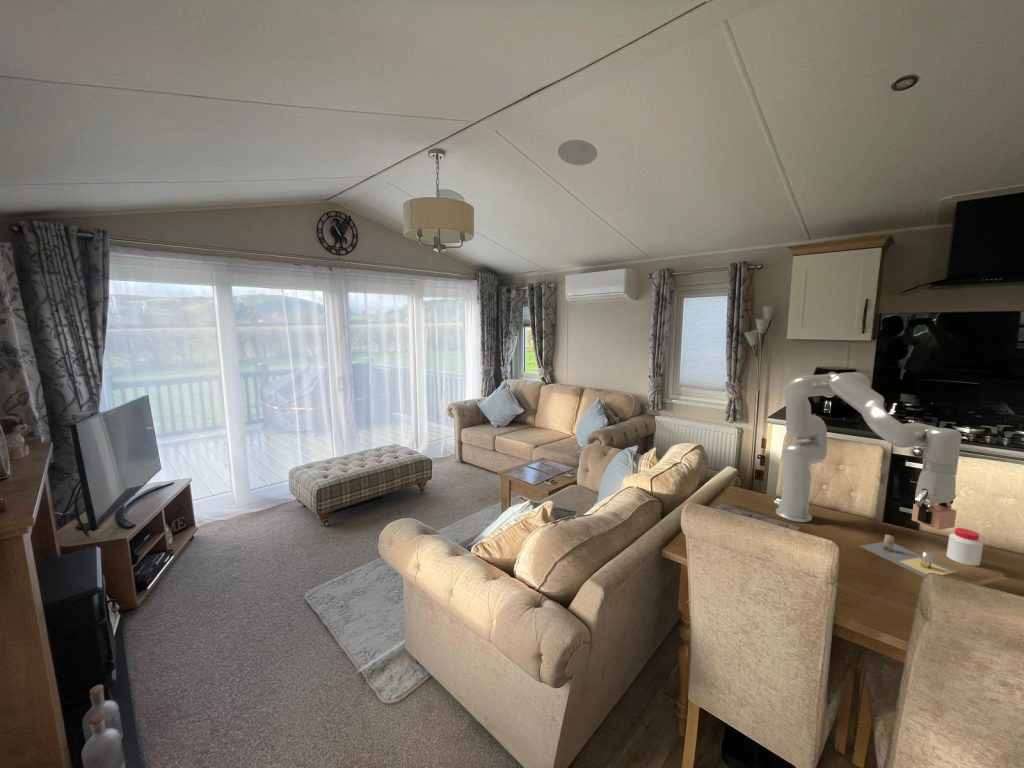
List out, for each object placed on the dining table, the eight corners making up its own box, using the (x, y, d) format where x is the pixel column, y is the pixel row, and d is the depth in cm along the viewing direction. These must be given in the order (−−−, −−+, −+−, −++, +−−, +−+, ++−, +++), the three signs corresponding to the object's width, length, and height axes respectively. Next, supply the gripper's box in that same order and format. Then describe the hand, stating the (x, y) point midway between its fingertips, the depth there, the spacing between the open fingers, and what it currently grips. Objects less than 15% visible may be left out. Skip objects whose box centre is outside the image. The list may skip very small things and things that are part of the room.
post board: (858, 549, 147) (860, 532, 147) (888, 544, 151) (890, 528, 150) (926, 581, 128) (928, 563, 127) (958, 575, 131) (960, 557, 131)
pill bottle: (974, 571, 134) (979, 539, 132) (941, 559, 140) (946, 529, 139) (983, 565, 137) (988, 534, 136) (950, 554, 144) (955, 524, 143)
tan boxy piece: (911, 520, 134) (913, 503, 134) (927, 517, 136) (929, 501, 135) (938, 529, 128) (940, 513, 127) (954, 527, 129) (956, 510, 129)
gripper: (944, 461, 135) (937, 513, 137) (905, 465, 131) (899, 518, 133) (974, 468, 128) (967, 523, 130) (934, 473, 124) (927, 529, 126)
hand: (932, 520), depth 132 cm, fingers closed on tan boxy piece, 7 cm apart
